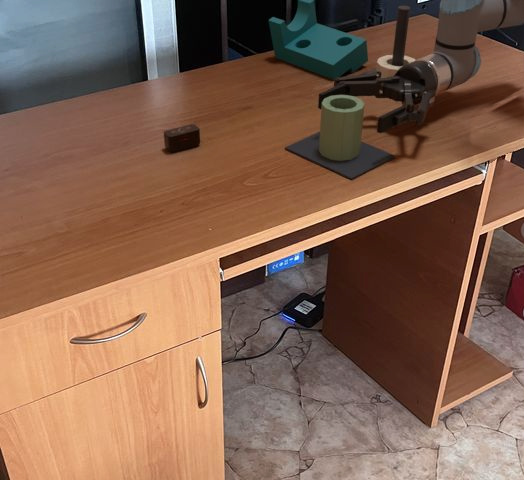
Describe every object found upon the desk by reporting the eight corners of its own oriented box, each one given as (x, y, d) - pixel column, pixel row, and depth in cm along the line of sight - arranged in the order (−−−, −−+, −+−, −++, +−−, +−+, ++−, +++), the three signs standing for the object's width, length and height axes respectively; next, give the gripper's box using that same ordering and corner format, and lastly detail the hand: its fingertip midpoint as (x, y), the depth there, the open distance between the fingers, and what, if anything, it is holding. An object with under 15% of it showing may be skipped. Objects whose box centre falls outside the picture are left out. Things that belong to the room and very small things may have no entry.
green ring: (367, 151, 142) (372, 103, 136) (341, 164, 138) (345, 115, 132) (337, 138, 146) (341, 91, 140) (311, 150, 142) (313, 102, 136)
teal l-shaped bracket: (276, 63, 178) (268, 20, 170) (308, 39, 182) (302, -4, 174) (335, 86, 169) (330, 41, 161) (368, 60, 172) (364, 16, 164)
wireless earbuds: (205, 144, 144) (204, 128, 142) (170, 154, 141) (169, 137, 139) (193, 135, 147) (192, 118, 145) (159, 144, 144) (157, 127, 142)
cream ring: (423, 76, 167) (425, 62, 165) (399, 87, 162) (401, 72, 160) (392, 65, 171) (394, 51, 169) (368, 75, 167) (369, 61, 165)
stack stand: (435, 81, 168) (446, 7, 158) (400, 96, 161) (409, 21, 151) (390, 65, 174) (399, -6, 164) (355, 80, 168) (362, 7, 158)
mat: (395, 157, 141) (395, 155, 141) (351, 180, 134) (351, 178, 134) (328, 129, 149) (328, 127, 149) (284, 149, 143) (284, 147, 143)
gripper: (473, 119, 145) (403, 156, 133) (368, 81, 158) (296, 112, 147) (481, 79, 140) (409, 114, 129) (372, 43, 153) (297, 72, 142)
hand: (348, 113), depth 138 cm, fingers open, 13 cm apart
